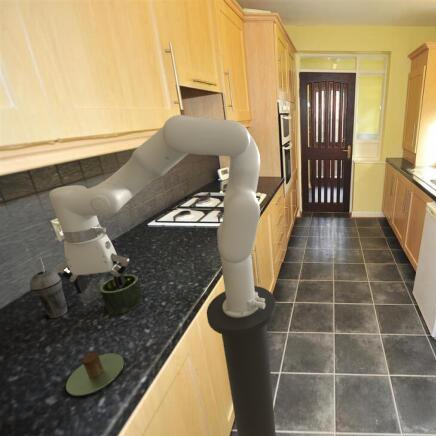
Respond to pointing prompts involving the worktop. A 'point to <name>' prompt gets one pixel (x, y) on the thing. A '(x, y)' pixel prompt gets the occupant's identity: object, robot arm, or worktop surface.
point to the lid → (94, 373)
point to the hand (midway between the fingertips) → (102, 288)
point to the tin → (121, 295)
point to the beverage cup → (49, 292)
